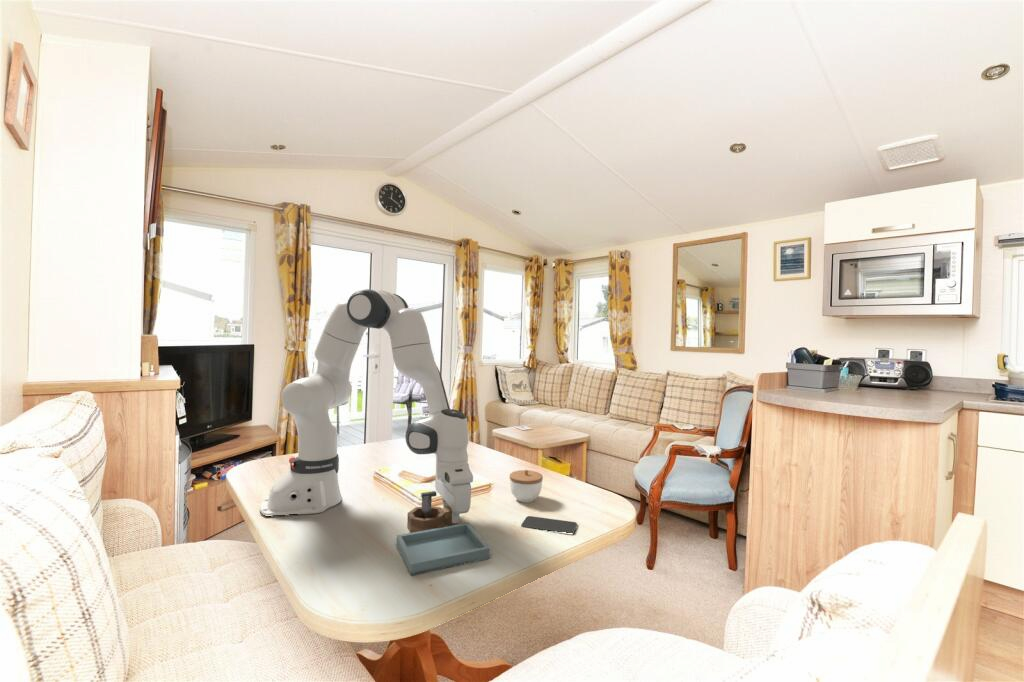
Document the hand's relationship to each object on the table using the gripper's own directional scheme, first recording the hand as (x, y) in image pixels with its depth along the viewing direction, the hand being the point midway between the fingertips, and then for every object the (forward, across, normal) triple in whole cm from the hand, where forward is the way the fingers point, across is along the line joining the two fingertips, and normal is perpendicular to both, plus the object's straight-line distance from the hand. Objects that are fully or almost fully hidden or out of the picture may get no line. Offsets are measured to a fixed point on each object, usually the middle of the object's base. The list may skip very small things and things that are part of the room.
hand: (450, 517), depth 126 cm
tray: (+2, +14, -7) cm, 16 cm away
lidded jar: (+2, -8, +28) cm, 29 cm away
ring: (+2, 0, -5) cm, 5 cm away
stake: (+2, 0, -7) cm, 7 cm away
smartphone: (+2, +12, +25) cm, 28 cm away
